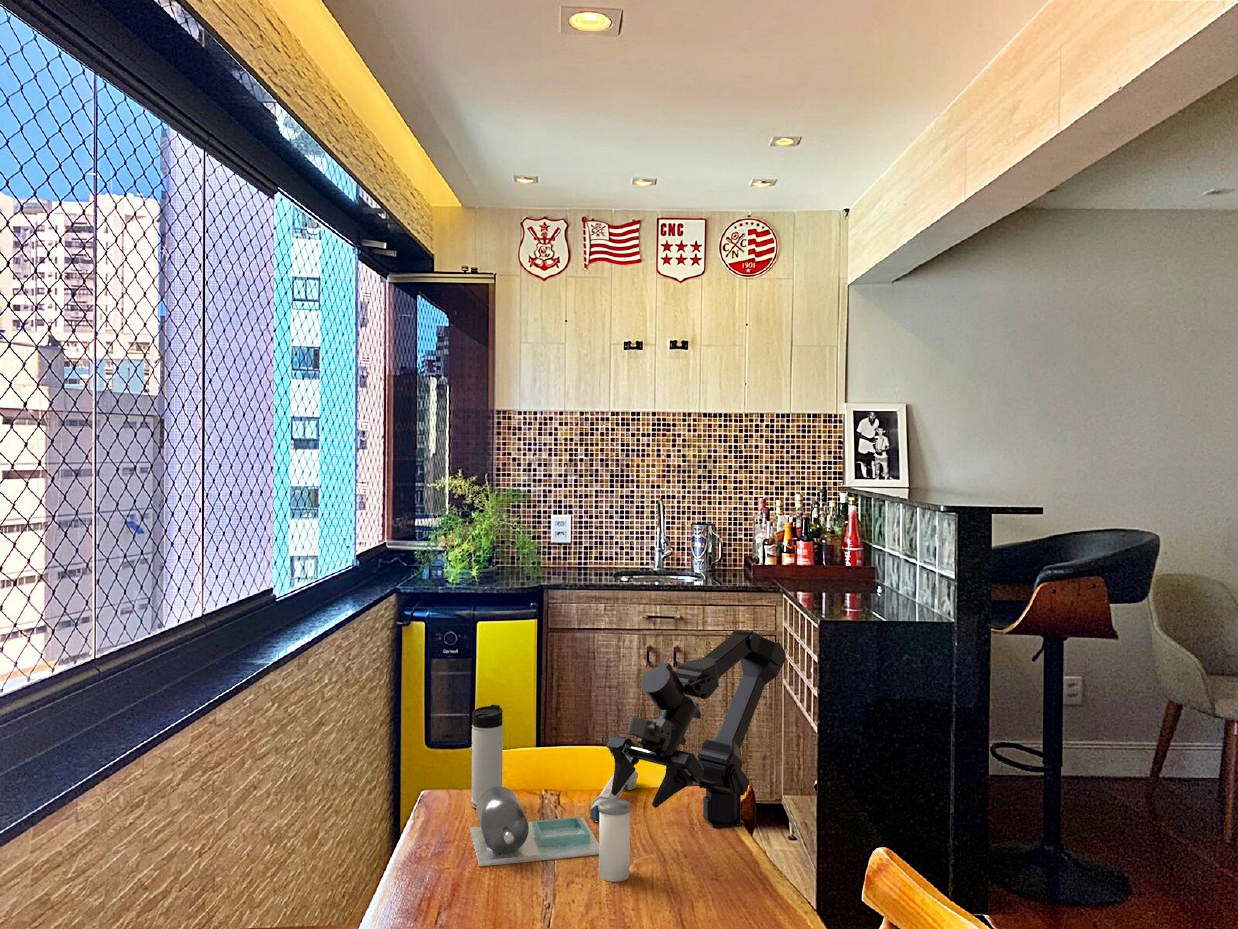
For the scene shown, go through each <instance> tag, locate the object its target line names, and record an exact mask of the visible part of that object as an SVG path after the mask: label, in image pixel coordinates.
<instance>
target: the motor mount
mask: <svg viewBox="0 0 1238 929" xmlns="http://www.w3.org/2000/svg"><path fill="white" fill-rule="evenodd" d="M475 810H476V811H475V812H476V816H477V819H478V823H479V826H470V827H469V834H470V833H471V835H470V838H471V837H472V839H471V842H472V841H473V843H472V846H473V845H474V846H473V850H474V849H475V850H474V853H475V852H476V854H475V857H476V856H477V857H476V860H478V861H477V863H478V864H479V865H478V867H479V866H480V867H488V866H498V865H508V864H519V863H528V862H529V863H531V862H541V861H548V860H549V861H550V860H558V859H568V858H580V857H590V856H599V841H598V839H597V838H596V837H595V835H594V834H593V831H592V830H591V828H590V827H589V825H588V823H587V822H586V820H585V819H584V817H580V816H576V817H575V816H574V817H564V818H563V817H562V818H552V819H540V820H532V821H528V820H527V817H526V815H525V813H524V810H523V809H522V806H521V804H520V802H519V799H518V797H517V795H516V793H515V792H514V791H513V790H511V789H510V788H507V787H506V786H502V787H493V788H490V789H488V790H487V791H485V792H484V793H483V794H482V795H481V797H480V798H479V800H478V803H477V808H476V809H475Z"/></svg>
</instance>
